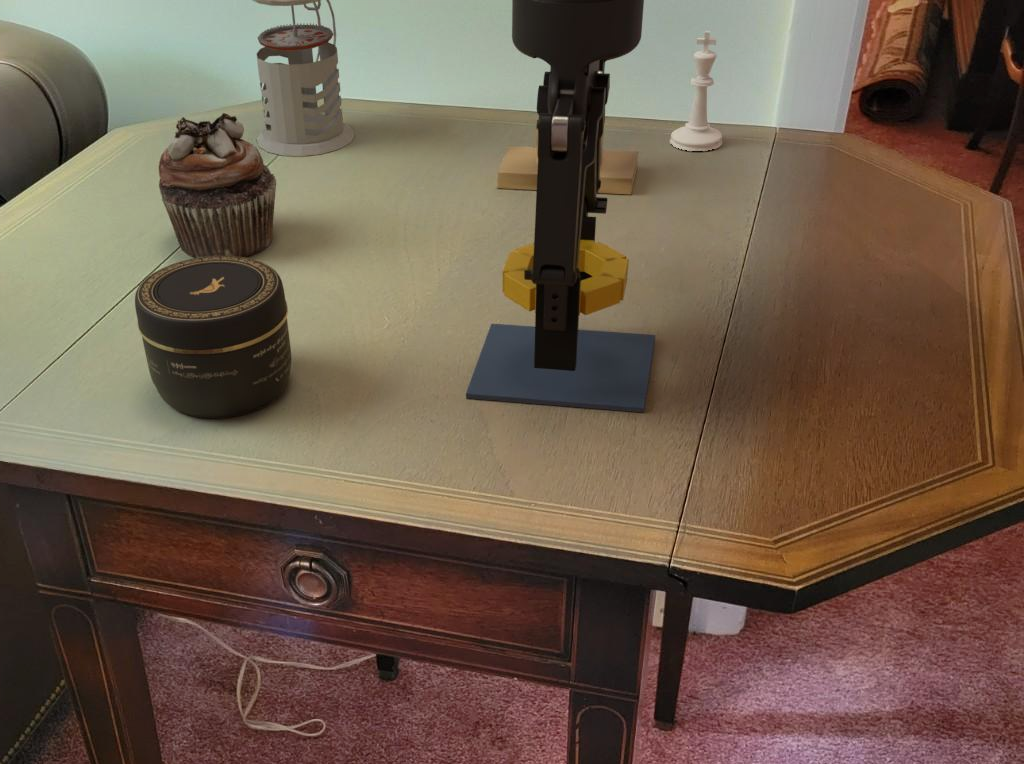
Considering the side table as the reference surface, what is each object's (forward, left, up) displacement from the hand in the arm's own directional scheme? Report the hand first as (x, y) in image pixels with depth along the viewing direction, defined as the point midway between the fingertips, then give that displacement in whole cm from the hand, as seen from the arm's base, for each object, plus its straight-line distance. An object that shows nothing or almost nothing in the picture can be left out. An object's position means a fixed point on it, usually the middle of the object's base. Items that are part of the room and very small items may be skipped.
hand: (563, 334), depth 84 cm
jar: (+23, +6, -3) cm, 24 cm away
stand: (+4, -34, -3) cm, 34 cm away
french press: (+31, -42, -3) cm, 52 cm away
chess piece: (-7, -44, -3) cm, 45 cm away
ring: (0, 0, +4) cm, 4 cm away
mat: (0, 0, -3) cm, 3 cm away
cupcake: (+31, -17, -3) cm, 35 cm away
